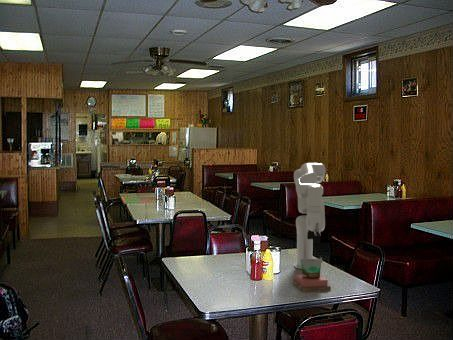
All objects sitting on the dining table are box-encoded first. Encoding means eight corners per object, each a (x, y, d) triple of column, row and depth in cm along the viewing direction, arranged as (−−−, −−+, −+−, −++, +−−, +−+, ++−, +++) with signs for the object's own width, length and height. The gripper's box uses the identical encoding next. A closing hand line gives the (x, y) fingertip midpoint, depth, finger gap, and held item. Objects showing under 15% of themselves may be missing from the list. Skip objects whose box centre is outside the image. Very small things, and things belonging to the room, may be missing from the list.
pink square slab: (295, 279, 264) (295, 274, 264) (317, 278, 267) (317, 273, 266) (304, 287, 251) (304, 281, 251) (327, 285, 254) (327, 279, 254)
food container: (305, 280, 252) (305, 261, 252) (300, 277, 258) (300, 258, 258) (326, 278, 256) (326, 259, 255) (321, 275, 262) (321, 256, 261)
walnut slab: (293, 285, 264) (293, 279, 264) (318, 283, 268) (318, 278, 267) (303, 293, 250) (303, 288, 249) (330, 292, 253) (330, 286, 253)
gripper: (301, 206, 264) (301, 237, 266) (313, 211, 247) (313, 245, 249) (314, 206, 266) (314, 237, 267) (327, 211, 249) (326, 244, 250)
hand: (313, 241), depth 258 cm, fingers open, 9 cm apart
